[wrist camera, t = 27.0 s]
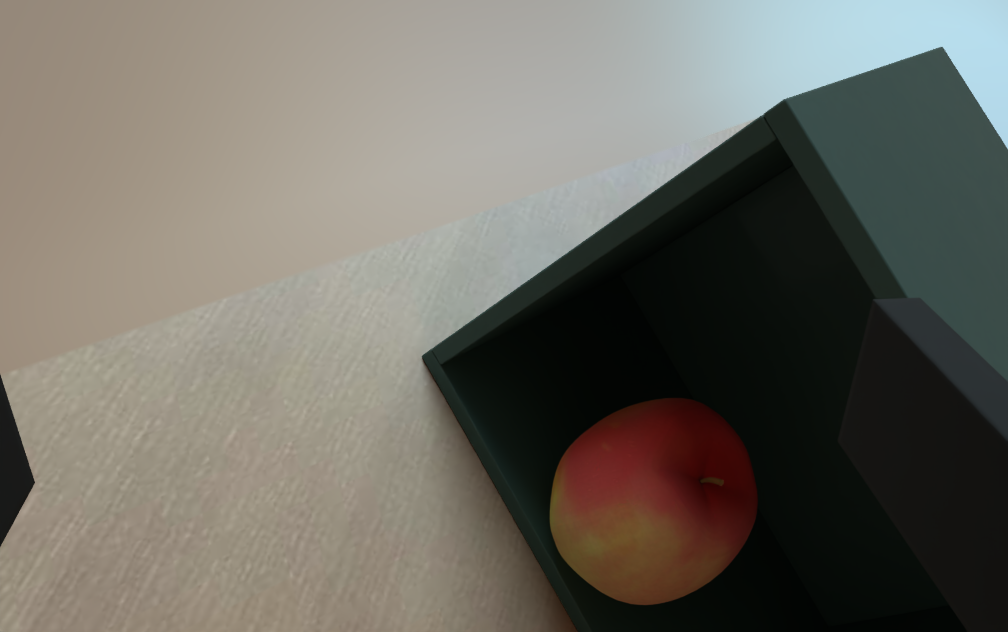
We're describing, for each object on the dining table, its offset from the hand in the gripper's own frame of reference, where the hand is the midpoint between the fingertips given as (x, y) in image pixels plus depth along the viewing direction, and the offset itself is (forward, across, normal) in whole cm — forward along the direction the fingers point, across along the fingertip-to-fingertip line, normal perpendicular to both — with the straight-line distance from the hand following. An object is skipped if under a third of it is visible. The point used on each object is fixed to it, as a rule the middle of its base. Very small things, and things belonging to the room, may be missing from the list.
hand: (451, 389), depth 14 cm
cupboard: (+28, +12, -28) cm, 41 cm away
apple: (+24, +8, -26) cm, 36 cm away
